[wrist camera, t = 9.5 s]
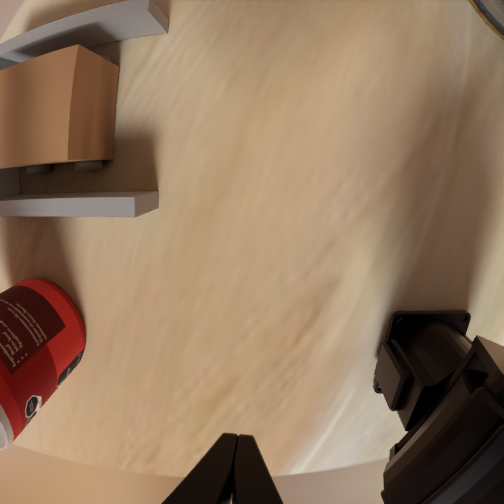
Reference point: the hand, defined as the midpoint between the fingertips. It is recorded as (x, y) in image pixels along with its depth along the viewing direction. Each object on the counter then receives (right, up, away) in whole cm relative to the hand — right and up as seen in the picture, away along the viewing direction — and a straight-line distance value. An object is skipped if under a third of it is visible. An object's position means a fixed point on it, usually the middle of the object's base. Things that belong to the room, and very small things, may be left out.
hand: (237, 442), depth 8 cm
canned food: (-15, 0, +14) cm, 21 cm away
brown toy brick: (-11, +14, +9) cm, 20 cm away
